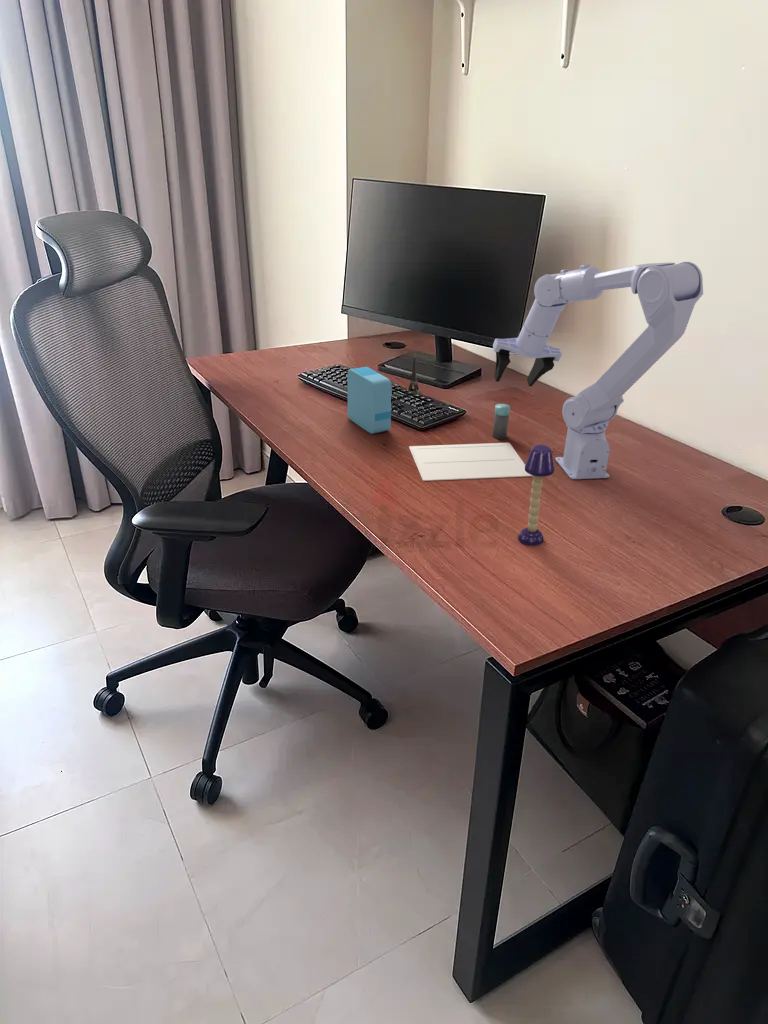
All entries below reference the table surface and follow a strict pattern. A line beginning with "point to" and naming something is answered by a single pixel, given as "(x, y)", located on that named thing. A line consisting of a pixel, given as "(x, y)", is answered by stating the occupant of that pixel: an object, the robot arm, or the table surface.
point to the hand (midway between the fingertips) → (512, 381)
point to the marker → (501, 421)
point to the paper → (468, 461)
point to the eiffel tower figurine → (414, 379)
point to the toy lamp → (536, 491)
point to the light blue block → (369, 399)
